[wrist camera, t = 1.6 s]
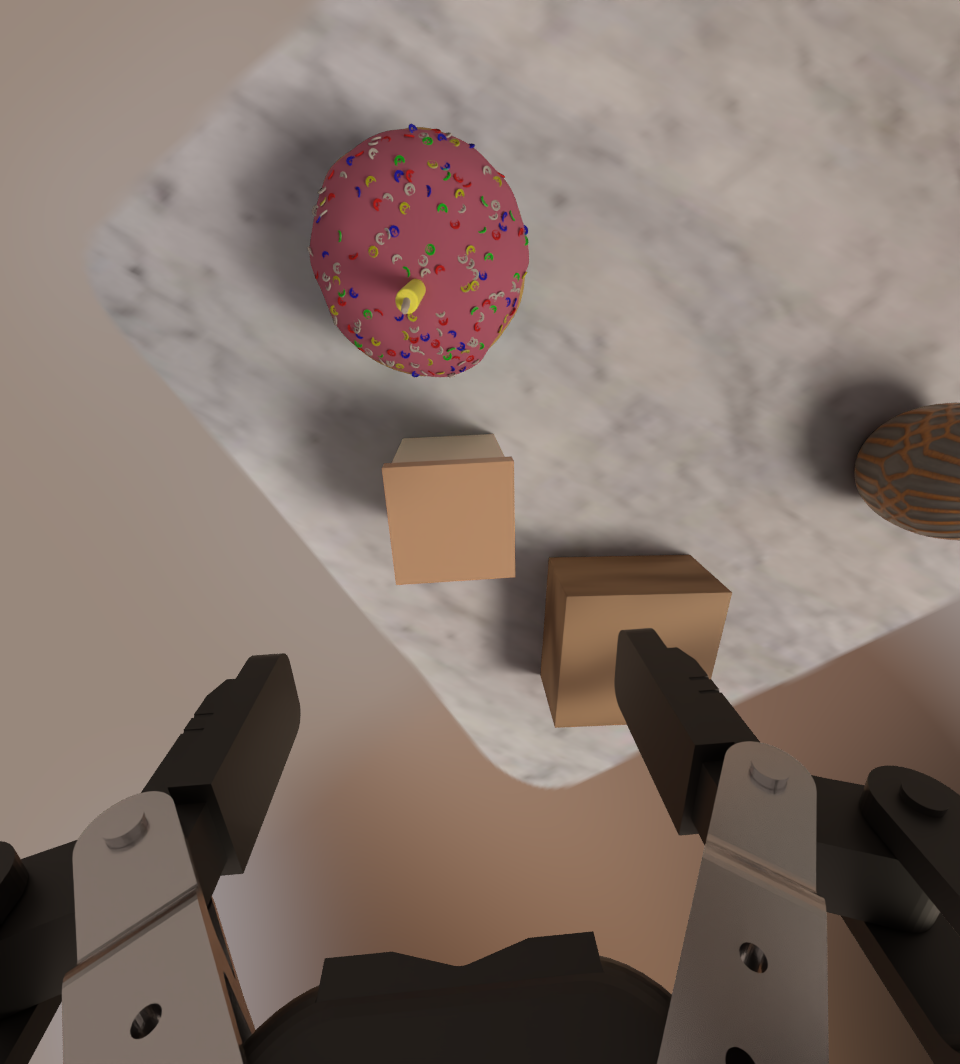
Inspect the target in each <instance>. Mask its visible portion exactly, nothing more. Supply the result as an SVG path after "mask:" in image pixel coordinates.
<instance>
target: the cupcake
mask: <svg viewBox="0 0 960 1064" xmlns="http://www.w3.org/2000/svg"><path fill="white" fill-rule="evenodd" d="M411 127H413V128H411ZM451 135H452V134H451V133H443V132H441V131H440V130H439V129H430V128H423V127H416V126H415V125H413V124H410V125H409V128H406V129H400V130H391V131H386V132H382V133H379V134H377V135H374V136H372V137H370V138H368V139H367V140H365V141H363V142H362V143H360V144H359V145H358V146H356V147H355V148H354V149H353V150H351V151H350V152H348V153H347V154H345V155H344V156H342V157H341V158H340V159H339V160H338V161H337V162H336V163H335V164H334V165H333V166H332V167H331V168H330V170H329V171H328V173H327V175H326V177H325V180H324V183H323V186H322V188H321V189H320V190H319V191H318V194H320V195H319V198H318V202H317V205H315V206H314V207H313V208H312V214H313V215H314V222H313V228H312V234H311V241H310V247H307V249H308V251H309V253H310V261H311V266H312V269H313V272H314V275H315V278H316V280H317V282H318V284H319V286H320V288H321V290H322V293H323V295H324V298H325V300H326V303H327V306H328V308H329V311H330V313H331V316H332V318H333V323H334V325H337V327H338V328H339V330H340V331H341V332H342V333H343V334H344V335H345V337H346V338H347V339H348V340H350V341H351V342H352V343H353V344H354V345H355V346H356V347H358V349H359V350H361V351H362V352H363V353H365V354H366V355H367V356H369V357H370V358H372V359H373V360H375V361H377V362H378V363H380V364H382V365H385V366H387V367H389V368H392V369H394V370H397V371H401V372H404V373H408V374H412V376H413V377H418V376H431V377H454V376H455V375H456V374H459V373H461V372H464V371H466V370H468V369H470V368H472V367H473V366H475V365H476V364H478V363H479V362H480V361H481V360H482V359H483V357H484V356H485V354H486V352H487V350H488V349H489V348H490V347H491V346H492V345H493V344H494V343H495V342H496V341H497V340H498V339H499V337H500V336H501V335H502V333H503V332H504V330H505V329H506V327H507V326H508V324H509V323H510V321H511V320H512V318H513V317H514V315H515V313H516V311H517V309H518V307H519V304H520V302H521V298H522V294H523V289H524V279H525V275H526V274H527V272H526V270H527V267H528V264H529V250H528V238H527V236H526V235H527V233H528V228H527V227H526V226H525V225H523V222H522V219H521V215H520V212H519V209H518V206H517V202H516V199H515V197H514V194H513V192H512V190H511V188H510V187H509V185H508V184H507V182H506V181H505V180H504V178H505V176H504V175H502V174H500V173H499V172H497V171H496V170H495V169H494V167H493V166H492V165H491V164H490V163H489V162H488V161H487V160H486V159H485V158H484V157H483V156H482V155H481V154H480V153H479V152H478V151H477V150H476V149H474V146H475V145H474V144H467V143H466V142H464V141H462V140H460V139H458V138H456V137H453V136H451ZM315 209H316V210H315ZM314 210H315V213H314ZM525 230H526V232H525Z"/></svg>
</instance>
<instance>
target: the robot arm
mask: <svg viewBox="0 0 960 1064" xmlns="http://www.w3.org/2000/svg"><path fill="white" fill-rule="evenodd" d="M614 688H615V695H616V700H617V703H618V706H619V708H620V711H621V713H622V715H623V717H624V719H625V721H626V723H627V726H628V728H629V730H630V732H631V734H632V736H633V738H634V741H635V743H636V745H637V747H638V749H639V751H640V753H641V755H642V758H643V759H644V762H645V764H646V766H647V768H648V770H649V773H650V775H651V776H652V779H653V781H654V783H655V785H656V787H657V790H658V792H659V794H660V796H661V798H662V800H663V802H664V804H665V807H666V809H667V811H668V813H669V815H670V817H671V819H672V822H673V824H674V826H675V828H676V830H677V832H678V834H679V835H690V834H699V835H700V837H701V839H702V841H703V843H704V845H705V848H704V852H703V857H702V861H701V866H700V870H699V876H698V880H697V885H696V889H695V893H694V898H693V902H692V907H691V912H690V916H689V920H688V925H687V930H686V934H685V939H684V943H683V948H682V952H681V957H680V962H679V966H678V970H677V975H676V980H675V984H674V989H673V993H672V994H670V993H669V992H668V991H667V990H666V989H664V988H663V987H662V986H661V985H660V984H658V983H657V982H655V981H654V980H652V979H651V978H649V977H648V976H646V975H645V974H644V973H642V972H640V971H638V970H636V969H634V968H632V967H630V966H629V965H627V964H624V963H621V962H619V961H616V960H613V959H611V958H607V957H603V956H599V953H598V949H597V945H596V941H595V937H594V933H593V932H583V933H574V934H564V935H553V936H544V937H534V938H527V939H525V940H523V941H521V942H518V943H516V944H514V945H511V946H509V947H507V948H505V949H502V950H500V951H498V952H495V953H493V954H491V955H489V956H486V957H484V958H482V959H479V960H477V961H475V962H472V963H470V964H468V965H465V966H452V965H448V964H444V963H439V962H435V961H430V960H426V959H422V958H417V957H413V956H409V955H404V954H399V953H395V952H386V953H385V952H384V953H376V954H365V955H354V956H345V957H334V958H326V959H325V961H324V966H323V970H322V975H321V980H320V985H319V986H316V987H314V988H312V989H310V990H308V991H306V992H305V993H303V994H301V995H300V996H298V997H296V998H294V999H293V1000H292V1001H290V1002H289V1003H287V1004H286V1005H285V1006H283V1007H282V1008H280V1009H279V1010H278V1011H276V1012H275V1013H274V1014H273V1015H272V1016H271V1017H270V1018H269V1019H267V1020H266V1021H265V1022H264V1023H263V1024H262V1025H261V1026H260V1027H259V1028H257V1029H256V1030H255V1027H254V1024H253V1021H252V1018H251V1015H250V1013H249V1010H248V1008H247V1004H246V1002H245V999H244V996H243V993H242V990H241V986H240V983H239V980H238V977H237V974H236V970H235V967H234V964H233V960H232V957H231V954H230V950H229V948H228V944H227V941H226V937H225V934H224V931H223V928H222V924H221V921H220V918H219V915H218V911H217V908H216V905H215V902H214V899H213V897H212V894H213V892H214V890H215V887H216V885H217V882H218V880H219V878H220V876H222V875H233V874H243V873H244V870H245V868H246V865H247V863H248V860H249V857H250V855H251V852H252V850H253V847H254V844H255V842H256V839H257V837H258V834H259V831H260V829H261V826H262V824H263V821H264V818H265V816H266V813H267V811H268V808H269V805H270V803H271V800H272V797H273V795H274V792H275V790H276V787H277V785H278V782H279V779H280V777H281V774H282V771H283V769H284V766H285V764H286V761H287V758H288V756H289V753H290V751H291V748H292V746H293V743H294V740H295V737H296V735H297V732H298V729H299V724H300V703H299V699H298V695H297V690H296V686H295V682H294V678H293V673H292V669H291V665H290V661H289V658H288V656H287V655H286V654H269V655H256V656H251V657H250V658H249V659H248V660H247V661H246V663H245V665H244V666H243V668H242V669H241V671H240V673H239V674H238V676H237V678H236V679H227V680H225V681H224V682H223V683H222V684H221V685H219V686H218V687H217V688H216V689H215V690H213V691H212V692H211V693H210V694H209V695H207V696H206V698H205V699H204V701H203V702H202V704H201V705H200V707H199V708H198V710H197V711H196V712H195V714H194V718H191V720H190V721H189V723H188V724H187V726H186V727H185V729H184V733H183V734H181V735H180V736H179V737H178V739H177V740H176V742H175V743H174V745H173V747H172V748H171V749H170V751H169V752H168V754H167V755H166V757H165V758H164V760H163V761H162V762H161V764H160V765H159V767H158V768H157V770H156V771H155V773H154V774H153V776H152V777H151V779H150V780H149V782H148V783H147V785H146V786H145V788H144V789H143V790H142V792H141V793H140V794H136V795H133V796H131V797H128V798H126V799H124V800H121V801H120V802H118V803H116V804H114V805H113V806H111V807H110V808H108V809H107V810H105V811H104V812H103V813H101V814H100V815H99V816H98V817H97V818H96V819H94V820H93V821H92V822H91V823H90V824H89V825H88V827H87V828H86V829H85V830H84V831H83V833H82V834H81V835H80V837H79V838H78V840H75V841H73V842H70V843H67V844H64V845H61V846H58V847H55V848H53V849H50V850H46V851H44V852H41V853H38V854H35V855H32V856H29V857H26V858H23V859H20V857H19V856H18V854H17V853H16V851H15V849H14V848H13V847H12V846H11V845H10V844H8V843H6V842H1V841H0V1064H28V1063H29V1061H30V1059H31V1057H32V1055H33V1054H34V1052H35V1049H36V1048H37V1046H38V1044H39V1042H40V1041H41V1039H42V1037H43V1035H44V1033H45V1031H46V1030H47V1028H48V1026H49V1024H50V1022H51V1020H52V1018H53V1017H54V1015H55V1013H56V1011H57V1009H58V1007H59V1005H60V1004H61V1002H62V1027H63V1064H828V985H827V915H826V912H829V913H833V914H837V915H841V917H842V918H843V920H844V922H845V923H846V925H847V926H848V928H849V930H850V931H851V933H852V934H853V936H854V937H855V939H856V941H857V942H858V944H859V945H860V947H861V948H862V950H863V952H864V953H865V955H866V957H867V958H868V960H869V961H870V963H871V964H872V966H873V968H874V969H875V971H876V972H877V974H878V975H879V977H880V979H881V980H882V982H883V984H884V985H885V987H886V988H887V990H888V991H889V993H890V995H891V996H892V998H893V999H894V1001H895V1003H896V1004H897V1006H898V1007H899V1009H900V1011H901V1012H902V1014H903V1015H904V1017H905V1018H906V1020H907V1022H908V1023H909V1025H910V1026H911V1028H912V1030H913V1031H914V1033H915V1034H916V1036H917V1038H918V1039H919V1041H920V1042H921V1044H922V1045H923V1047H924V1049H925V1050H926V1052H927V1053H928V1055H929V1057H930V1058H931V1060H932V1061H933V1063H934V1064H960V795H958V794H957V793H956V792H954V791H953V790H951V789H950V788H949V787H947V786H946V785H944V784H943V783H941V782H939V781H937V780H936V779H934V778H932V777H930V776H927V775H925V774H923V773H920V772H918V771H915V770H912V769H908V768H904V767H898V766H881V767H877V768H875V769H873V770H872V771H871V772H870V773H869V776H868V778H867V781H866V783H865V785H859V784H854V783H848V782H843V781H838V780H832V779H827V778H822V777H817V776H813V775H811V774H810V773H809V772H808V770H807V769H806V768H805V767H804V766H803V765H802V764H801V763H800V762H799V761H798V760H796V759H795V758H794V757H792V756H791V755H789V754H788V753H786V752H784V751H782V750H780V749H778V748H776V747H774V746H771V745H768V744H764V743H760V741H759V740H758V739H757V737H756V736H755V735H754V734H753V732H752V731H751V730H750V729H749V727H748V726H747V725H746V723H745V722H744V721H743V720H742V718H741V717H740V716H739V714H738V713H737V712H736V711H735V709H734V708H733V707H732V705H731V704H730V703H729V702H728V700H727V699H726V698H725V696H724V695H723V694H722V693H720V692H719V689H718V688H717V686H716V685H715V684H714V682H713V681H712V680H711V679H709V677H708V675H707V673H706V672H705V671H704V670H703V668H702V667H701V666H700V664H699V663H698V662H697V661H696V660H695V659H694V658H692V657H691V656H689V655H688V654H686V653H685V652H683V651H682V650H681V649H679V648H678V647H672V648H667V646H666V645H665V644H664V642H663V641H662V640H661V638H660V637H659V635H658V634H657V633H656V631H655V630H654V629H653V628H643V629H629V630H621V631H620V632H619V635H618V642H617V654H616V666H615V678H614ZM940 912H941V913H940ZM944 917H945V918H944ZM948 922H949V923H948ZM952 927H953V928H954V929H953V928H952ZM957 933H958V934H957Z"/></svg>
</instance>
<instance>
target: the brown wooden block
mask: <svg viewBox="0 0 960 1064" xmlns="http://www.w3.org/2000/svg"><path fill="white" fill-rule="evenodd" d="M731 595H732V592H731V591H730V590H729V589H728V588H726V587H725V586H724V585H723V584H722V583H721V582H720V581H719V580H718V579H716V578H715V577H714V576H713V575H712V574H711V573H710V572H709V571H708V570H706V569H705V568H704V567H703V566H702V565H701V564H700V563H699V562H697V561H696V560H695V559H694V558H693V557H692V556H691V555H651V556H600V557H549V562H548V576H547V590H546V604H545V618H544V632H543V646H542V660H541V674H540V675H541V679H542V682H543V686H544V690H545V693H546V697H547V701H548V704H549V708H550V711H551V715H552V719H553V722H554V726H555V728H557V727H580V726H604V725H627V723H626V721H625V719H624V717H623V715H622V713H621V711H620V708H619V706H618V703H617V700H616V695H615V688H614V678H615V666H616V654H617V642H618V635H619V632H620V631H621V630H629V629H643V628H653V629H654V630H655V631H656V633H657V634H658V635H659V637H660V638H661V640H662V641H663V642H664V644H665V645H666V646H667V648H672V647H678V648H679V649H681V650H682V651H683V652H685V653H686V654H688V655H689V656H691V657H692V658H694V659H695V660H696V661H697V662H698V663H699V664H700V666H701V667H702V668H703V670H704V671H705V672H706V673H707V675H708V677H709V679H711V677H712V672H713V668H714V664H715V660H716V656H717V652H718V648H719V644H720V640H721V636H722V632H723V628H724V623H725V619H726V615H727V611H728V607H729V603H730V599H731Z"/></svg>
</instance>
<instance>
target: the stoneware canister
mask: <svg viewBox="0 0 960 1064" xmlns="http://www.w3.org/2000/svg"><path fill="white" fill-rule="evenodd" d="M382 474H383V482H384V490H385V498H386V507H387V515H388V523H389V531H390V539H391V547H392V556H393V564H394V572H395V580H396V585H403V584H419V583H434V582H450V581H465V580H480V579H496V578H511V577H515V518H514V460H513V459H512V457H505V456H504V454H503V452H502V450H501V448H500V446H499V444H498V442H497V440H496V438H495V436H494V434H482V435H462V436H443V437H423V438H404V439H402V441H401V444H400V446H399V448H398V450H397V452H396V455H395V457H394V459H393V461H392V463H384V465H383V467H382Z"/></svg>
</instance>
